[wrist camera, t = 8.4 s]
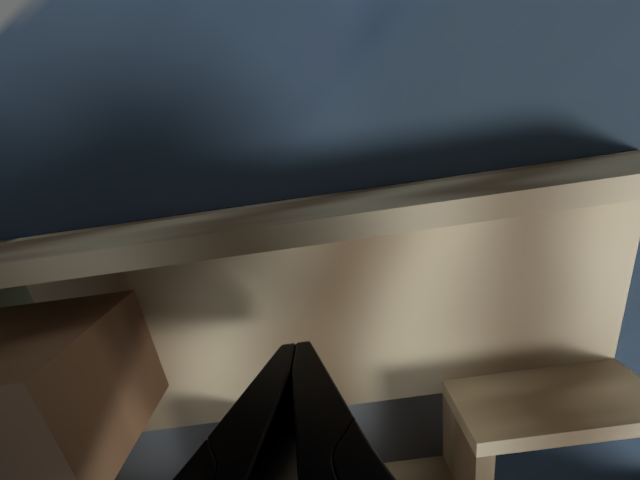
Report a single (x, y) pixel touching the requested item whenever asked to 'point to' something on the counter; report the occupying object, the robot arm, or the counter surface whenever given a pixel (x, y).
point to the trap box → (383, 309)
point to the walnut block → (75, 386)
